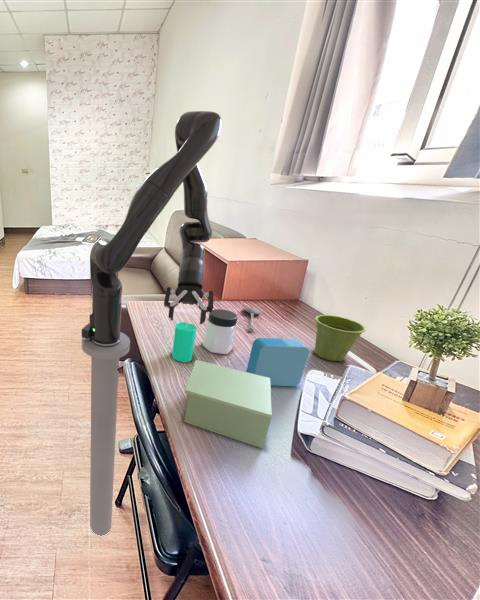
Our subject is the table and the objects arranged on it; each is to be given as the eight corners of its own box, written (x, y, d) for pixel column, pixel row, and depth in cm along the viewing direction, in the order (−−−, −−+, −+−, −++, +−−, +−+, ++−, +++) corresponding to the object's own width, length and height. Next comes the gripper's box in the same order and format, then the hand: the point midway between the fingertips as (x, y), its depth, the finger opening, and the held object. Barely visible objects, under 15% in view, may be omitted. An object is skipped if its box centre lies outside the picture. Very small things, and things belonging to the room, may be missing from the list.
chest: (184, 422, 70) (188, 394, 67) (194, 388, 81) (198, 363, 78) (262, 448, 63) (271, 418, 60) (262, 407, 74) (269, 381, 71)
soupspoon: (260, 313, 127) (242, 311, 130) (261, 305, 126) (243, 303, 129) (260, 333, 109) (239, 330, 112) (262, 325, 108) (241, 321, 111)
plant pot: (359, 370, 88) (373, 335, 84) (309, 360, 93) (320, 327, 89) (346, 350, 98) (358, 318, 94) (302, 343, 103) (311, 312, 99)
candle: (189, 364, 92) (194, 328, 87) (169, 358, 95) (173, 323, 90) (194, 354, 96) (199, 320, 92) (174, 349, 99) (179, 315, 95)
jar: (224, 357, 95) (231, 322, 90) (199, 348, 100) (204, 314, 96) (235, 347, 101) (242, 313, 96) (210, 338, 106) (216, 306, 102)
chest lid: (184, 392, 68) (185, 389, 67) (195, 362, 79) (195, 359, 78) (271, 418, 60) (271, 415, 60) (269, 380, 71) (270, 378, 71)
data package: (289, 376, 86) (300, 338, 81) (299, 387, 81) (311, 347, 77) (245, 375, 86) (253, 337, 82) (252, 385, 82) (261, 346, 78)
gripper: (168, 266, 98) (162, 314, 92) (216, 270, 93) (213, 320, 88) (167, 277, 104) (162, 322, 98) (213, 281, 100) (209, 328, 94)
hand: (186, 321), depth 93 cm, fingers open, 8 cm apart
